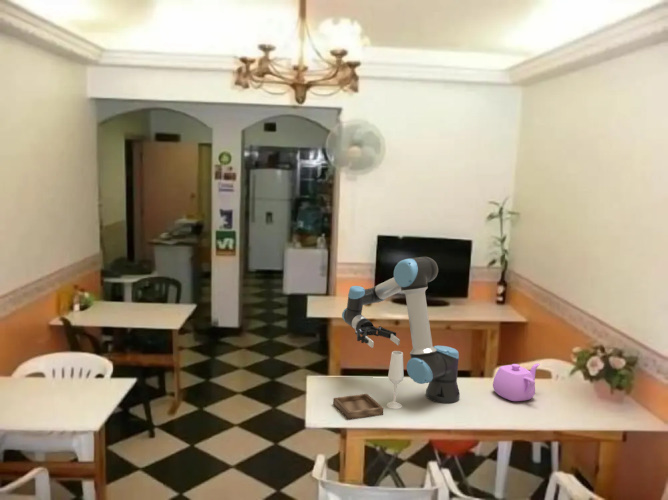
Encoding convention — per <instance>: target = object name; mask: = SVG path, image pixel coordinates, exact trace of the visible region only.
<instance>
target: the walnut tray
mask: <svg viewBox="0 0 668 500" xmlns="http://www.w3.org/2000/svg"><path fill="white" fill-rule="evenodd" d="M332 401H333V404H332V405H333V406H334V407H335V408H336V409H337V410H338V411H339V412H340V413H341V414H342V415H343V416H344V417H345V418H346V419H347V421H350V420H358V419H365V418H372V417H376V416H377V417H378V416H383V415H384V407H383V406H382V405H381V404H380V403H378V402H377V401H376V400H375V399H374V398H373V397H371V396H370V395H369V394H368V393H361V394H354V395H347V396H338V397H333V400H332Z"/></svg>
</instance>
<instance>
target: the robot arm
mask: <svg viewBox="0 0 668 500" xmlns="http://www.w3.org/2000/svg"><path fill="white" fill-rule="evenodd" d="M438 273H439V267H438V264H437V262H436V260H434V259H433V258H431V257H428V256H419V257H411V258H405V259H402V260H400V261H399V262H397V264H396V265H395V267H394V270H393V277H392V278H389V279H387V280H385V281H384V282H381V283H378V284H377V285H375V286H373V287H370V288H364V287H362V286H359V285H352V286H350V287H349V291H348V295H347V303H346V304H347V305H346V308H344V309H343V311H342V313H341V317H342V320H343V321H344V322H345V323H346V324H347V325H349V326H350V327H351V328H352V329H354V330H355V333H354V334H355V335H356V341H357V342H361V343H360V344H364V343H365V344H366V345H368V346H369V347H370V348H372V349H373V348H374V344H375V342H374V341H373V340H372V339H371V338H370V337H369V336H375V337H383V338H386V339H389V340H390V341H392V342H393V343H394V344H395V345H396V346H399V345H400V342H401V339H400V338H398V337H397V332H395V331H393V330H389V329H387V328H385V327H383V326H381V325H380V326H378V327H375V326H374V323H373V322H372V321H370V320H369V319H368V318H367V317H365V316H364V315H363V313H362V311H363V306H367V305H371V304H376V303H378V304H379V303H381V302H383V301H385V300H386V299H387V298H389V297H392V296H394V295H396V294H398V293H400V292H402V293H403V294H404V295H405V301H406V309H407V317H408V322H409V323H408V324H409V328H410V330H409V331H410V337H411V345H412V349H411V351H409V356H410V359H408V361H407V363H406V371H407V375H408V376H409V378H410V379H411V380H413V382H414V383H416V384H418V385H419V384H420V385H424V384H427V387H426V389H425V390H426V391H425V396H426V398H427V399H429V400H431V401H432V402H436V403H441V404H453V403H457V402H458V401H459V400H460V396H461V395H460V389H459V385H458V381H457V380H458V371H459V370H458V369H459V360H460V357H459V356H460V355H459V353H460V352H459V351H458V350H457V349H456V348H453V347H451V346H446V345H434V346H433V339H432V333H431V332H432V331H431V326H430V320H429V318H430V317H429V311H428V304H427V297H426V292H427V291H426V290H427V289H428V288H429V287H428V283H430V282H432V281H434V280H435V279H436V278H437V276H438Z"/></svg>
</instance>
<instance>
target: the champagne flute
mask: <svg viewBox="0 0 668 500" xmlns="http://www.w3.org/2000/svg"><path fill="white" fill-rule="evenodd" d="M404 375H405V374H404V352H403V351H401V350H394V351H391V355H390V363H389V367H388V375H387V378H388V380H389V382H391V384H393V395H392V396H393V398H392V401H390V402H388V403H387V404H386V407H387V408H389V409H396V410H397V409H401V408H402V404H401V403H399V402H397V387H398V385H400V384H401V383H402V381H403V380H404V378H405V376H404Z"/></svg>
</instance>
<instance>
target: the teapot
mask: <svg viewBox="0 0 668 500" xmlns="http://www.w3.org/2000/svg"><path fill="white" fill-rule="evenodd" d="M539 366H540V363H535V364H533V365H532V367H531V368H530V370H528V369H527V368H526V367H524V366H521V365H520V364H518V363H512V364H507V365H502V366H499V368H498V370H497V372H496V373H495V374H494V378H493V382H492V388H493V390H494V393H496V394H497V395H498V396H500V397H502V398H503V399H506V400H509V401H510V402H522V401H528V400H531V399H533V397H535V394H536V381H535V380H536V371H537V368H538V367H539Z"/></svg>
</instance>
